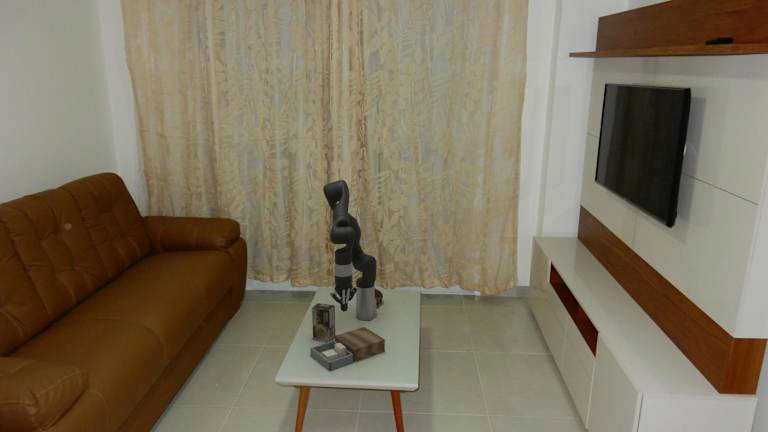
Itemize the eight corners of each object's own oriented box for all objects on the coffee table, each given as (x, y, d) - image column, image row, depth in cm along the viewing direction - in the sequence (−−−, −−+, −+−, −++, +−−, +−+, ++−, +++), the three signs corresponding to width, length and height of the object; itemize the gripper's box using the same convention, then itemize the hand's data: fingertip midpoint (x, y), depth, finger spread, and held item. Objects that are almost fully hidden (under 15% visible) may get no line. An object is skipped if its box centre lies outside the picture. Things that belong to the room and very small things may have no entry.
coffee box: (336, 337, 265) (335, 305, 261) (330, 343, 259) (329, 310, 255) (318, 334, 268) (317, 302, 264) (312, 340, 262) (311, 307, 258)
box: (334, 348, 254) (333, 340, 253) (353, 362, 241) (353, 354, 240) (310, 356, 247) (310, 347, 246) (329, 371, 234) (329, 362, 233)
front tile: (321, 352, 244) (322, 357, 244) (327, 356, 240) (327, 362, 240) (332, 349, 246) (332, 354, 247) (337, 353, 242) (337, 358, 243)
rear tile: (339, 342, 247) (334, 344, 245) (345, 346, 243) (341, 348, 241) (339, 353, 248) (334, 354, 246) (346, 357, 244) (341, 359, 243)
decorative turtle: (377, 296, 312) (378, 283, 310) (386, 309, 299) (387, 295, 296) (360, 298, 309) (361, 284, 307) (368, 310, 296) (369, 296, 293)
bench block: (364, 338, 263) (364, 326, 262) (384, 351, 251) (384, 339, 249) (334, 348, 254) (334, 335, 252) (354, 362, 242) (354, 349, 240)
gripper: (351, 267, 245) (352, 304, 250) (325, 273, 237) (326, 311, 242) (361, 272, 239) (361, 310, 244) (334, 278, 232) (335, 317, 236)
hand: (344, 310), depth 243 cm, fingers closed
